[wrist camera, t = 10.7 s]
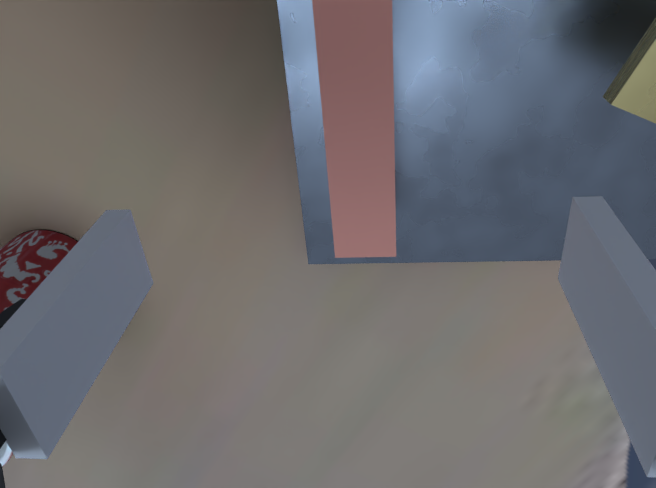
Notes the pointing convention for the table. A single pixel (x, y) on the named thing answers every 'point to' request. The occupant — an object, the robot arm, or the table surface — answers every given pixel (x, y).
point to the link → (358, 122)
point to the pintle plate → (490, 126)
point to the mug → (28, 273)
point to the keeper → (637, 80)
